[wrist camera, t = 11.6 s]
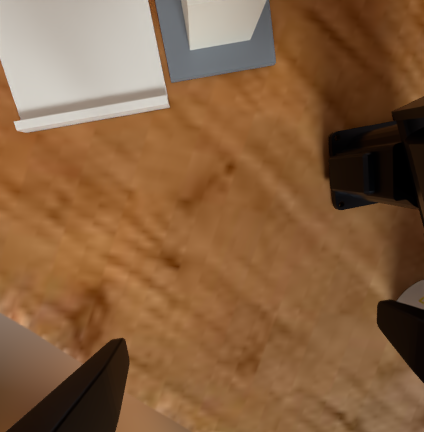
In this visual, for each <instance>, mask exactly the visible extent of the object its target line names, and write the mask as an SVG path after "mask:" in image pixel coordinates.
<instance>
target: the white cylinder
mask: <svg viewBox="0 0 424 432" xmlns="http://www.w3.org/2000/svg"><path fill="white" fill-rule="evenodd" d="M397 301H398V302H401V303H404V304H408V305H411V306H414V307H417V308H421V309H424V280H421V281H419V282H417V283H415V284H414V285H412V286H411V287H409V288H408V289H407V290H406V291H405V292H404V293H403V294H402V295H401V296H400V297H399V298H398V300H397Z"/></svg>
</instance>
